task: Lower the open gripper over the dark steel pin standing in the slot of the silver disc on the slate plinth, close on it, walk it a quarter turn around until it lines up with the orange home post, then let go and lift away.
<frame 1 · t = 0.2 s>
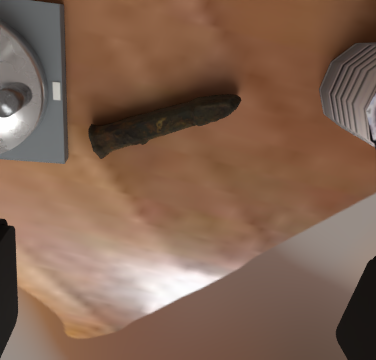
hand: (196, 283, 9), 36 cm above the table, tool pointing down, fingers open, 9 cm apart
can: (360, 86, 45), on the table
hand tool: (164, 112, 44), on the table
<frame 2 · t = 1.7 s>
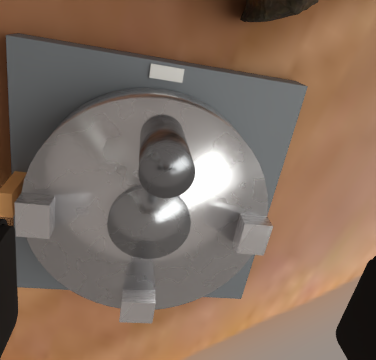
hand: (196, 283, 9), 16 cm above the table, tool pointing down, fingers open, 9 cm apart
silver disc: (149, 229, 20), point 6 cm above the table, hinge at 0.0°
gray plinth: (148, 183, 26), on the table
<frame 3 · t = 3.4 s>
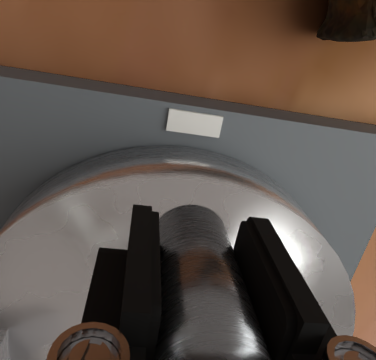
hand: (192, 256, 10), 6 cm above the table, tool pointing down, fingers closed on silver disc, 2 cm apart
gray plinth: (161, 268, 18), on the table
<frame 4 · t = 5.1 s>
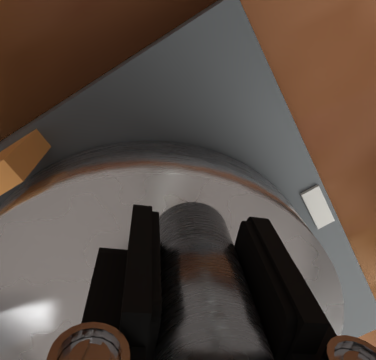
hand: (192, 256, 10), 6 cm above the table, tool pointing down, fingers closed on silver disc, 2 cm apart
gray plinth: (152, 265, 18), on the table
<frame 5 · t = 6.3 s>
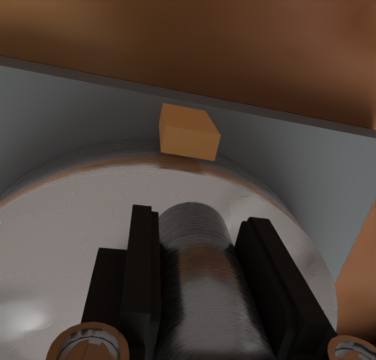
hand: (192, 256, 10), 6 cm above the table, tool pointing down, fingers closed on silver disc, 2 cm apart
gray plinth: (146, 265, 18), on the table
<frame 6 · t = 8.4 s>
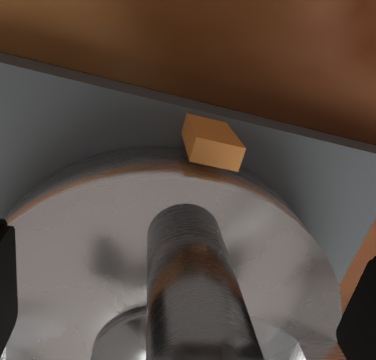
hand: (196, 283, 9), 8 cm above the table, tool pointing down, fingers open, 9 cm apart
gray plinth: (155, 267, 18), on the table
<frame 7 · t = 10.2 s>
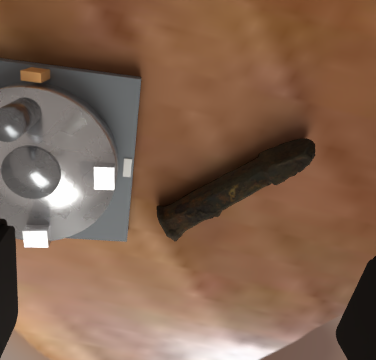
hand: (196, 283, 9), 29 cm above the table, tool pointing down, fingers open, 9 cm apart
silver disc: (29, 175, 30), point 6 cm above the table, hinge at 93.6°
gray plinth: (47, 153, 36), on the table
hand tool: (229, 174, 40), on the table
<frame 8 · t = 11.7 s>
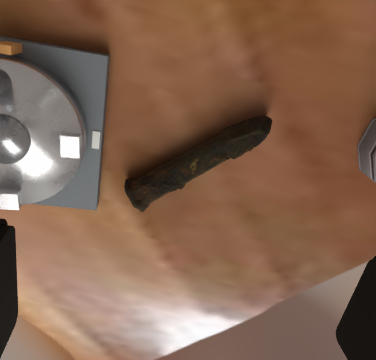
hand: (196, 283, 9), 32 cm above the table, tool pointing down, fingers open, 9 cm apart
silver disc: (0, 141, 33), point 6 cm above the table, hinge at 93.6°
gray plinth: (22, 124, 39), on the table
hand tool: (194, 149, 42), on the table
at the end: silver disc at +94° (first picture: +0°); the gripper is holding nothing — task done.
